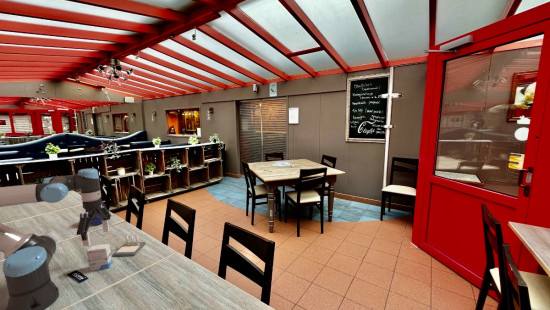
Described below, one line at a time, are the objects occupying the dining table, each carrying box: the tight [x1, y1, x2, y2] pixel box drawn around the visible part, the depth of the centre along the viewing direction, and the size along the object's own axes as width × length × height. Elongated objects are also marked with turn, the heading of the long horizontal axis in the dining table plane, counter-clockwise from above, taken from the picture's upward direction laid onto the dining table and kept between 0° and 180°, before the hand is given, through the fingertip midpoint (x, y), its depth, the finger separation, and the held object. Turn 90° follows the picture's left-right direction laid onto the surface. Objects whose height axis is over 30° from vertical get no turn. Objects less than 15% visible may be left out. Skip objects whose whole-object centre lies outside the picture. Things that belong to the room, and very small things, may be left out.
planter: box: [88, 216, 103, 226], centre depth 163 cm, size 11×11×11 cm
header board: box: [112, 234, 147, 258], centre depth 129 cm, size 12×12×8 cm
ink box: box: [86, 243, 113, 272], centre depth 114 cm, size 9×5×12 cm, turn 105°
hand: (97, 238), depth 112 cm, fingers open, 13 cm apart
